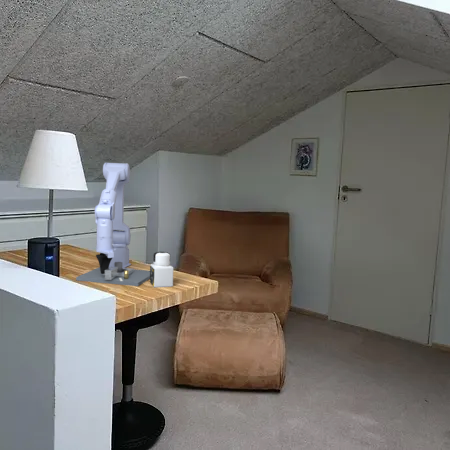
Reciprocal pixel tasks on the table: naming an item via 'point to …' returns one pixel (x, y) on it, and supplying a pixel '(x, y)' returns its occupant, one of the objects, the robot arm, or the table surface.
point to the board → (133, 279)
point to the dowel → (126, 274)
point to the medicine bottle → (161, 270)
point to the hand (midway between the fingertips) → (104, 273)
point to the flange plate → (115, 272)
